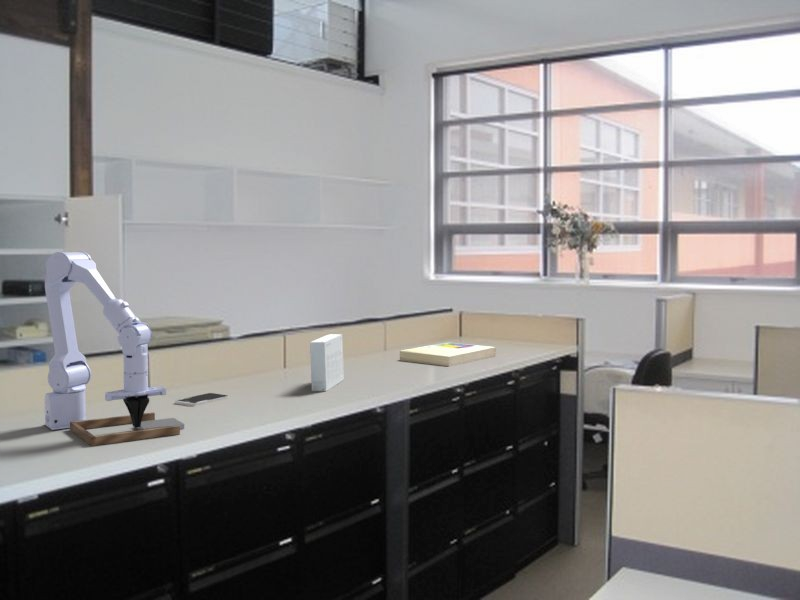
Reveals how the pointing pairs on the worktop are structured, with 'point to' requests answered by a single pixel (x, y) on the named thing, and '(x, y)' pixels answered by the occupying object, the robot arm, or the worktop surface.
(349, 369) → the worktop surface
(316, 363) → the skincare box
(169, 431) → the walnut u-shaped frame
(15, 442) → the worktop surface
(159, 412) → the worktop surface
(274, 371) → the worktop surface
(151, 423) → the cover plate
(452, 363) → the puzzle box
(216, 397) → the smartphone
